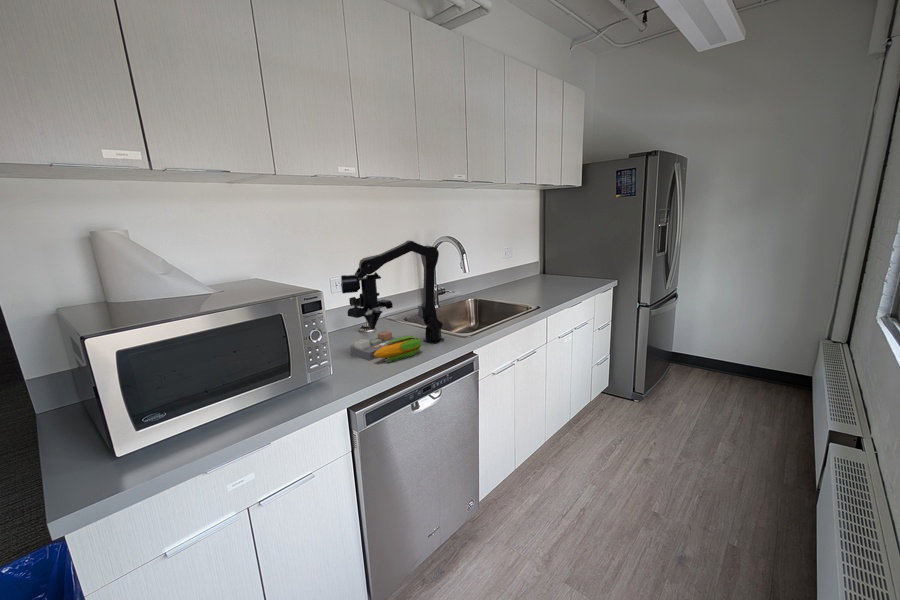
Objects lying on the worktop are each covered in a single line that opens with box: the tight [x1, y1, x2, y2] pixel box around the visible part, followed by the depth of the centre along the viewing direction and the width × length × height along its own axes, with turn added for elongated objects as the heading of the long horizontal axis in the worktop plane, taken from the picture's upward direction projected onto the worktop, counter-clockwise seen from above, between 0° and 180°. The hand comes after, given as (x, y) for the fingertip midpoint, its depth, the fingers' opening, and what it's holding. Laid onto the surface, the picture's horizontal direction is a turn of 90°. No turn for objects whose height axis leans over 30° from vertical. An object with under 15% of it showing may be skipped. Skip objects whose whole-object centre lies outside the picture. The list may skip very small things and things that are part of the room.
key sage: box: [369, 337, 382, 345], centre depth 160 cm, size 4×4×4 cm
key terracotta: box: [376, 330, 393, 341], centre depth 165 cm, size 4×4×4 cm
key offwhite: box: [353, 338, 370, 350], centre depth 155 cm, size 4×4×4 cm
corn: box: [374, 335, 422, 362], centre depth 151 cm, size 7×8×20 cm
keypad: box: [349, 336, 403, 361], centre depth 159 cm, size 18×11×3 cm, turn 143°
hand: (372, 329), depth 159 cm, fingers closed
